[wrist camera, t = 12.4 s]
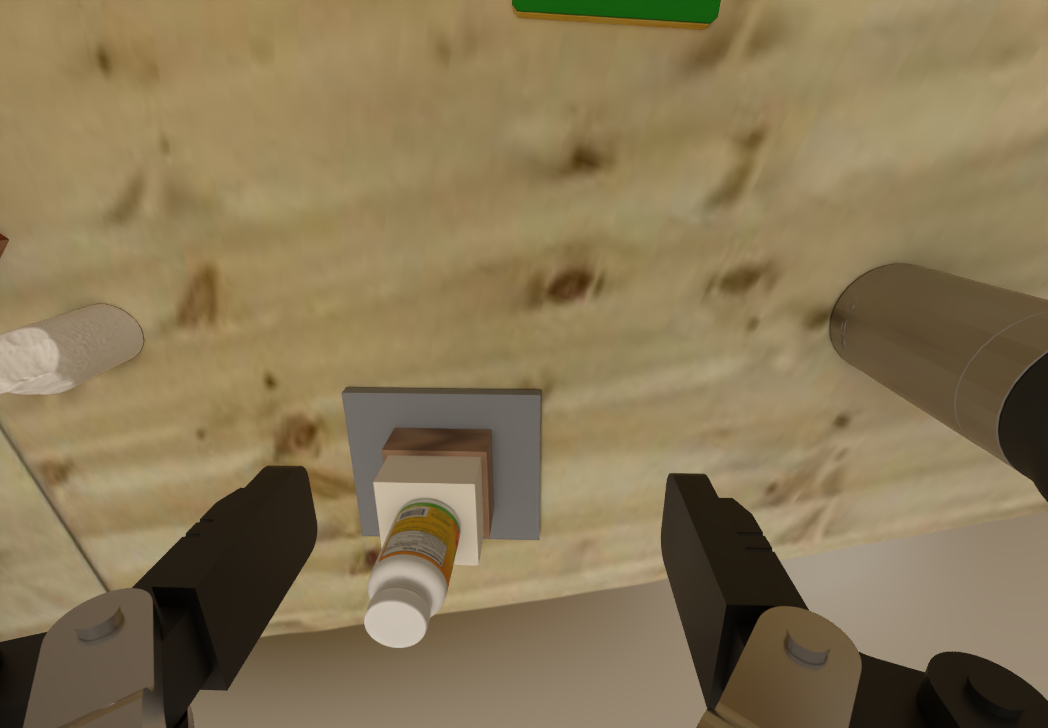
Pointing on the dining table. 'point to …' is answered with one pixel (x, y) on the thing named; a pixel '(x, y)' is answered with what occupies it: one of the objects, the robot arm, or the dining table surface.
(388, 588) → the supplement bottle
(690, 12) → the dish sponge
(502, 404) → the grey tile
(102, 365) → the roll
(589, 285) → the dining table surface
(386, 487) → the off-white block
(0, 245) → the milk carton
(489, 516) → the walnut block
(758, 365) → the dining table surface
